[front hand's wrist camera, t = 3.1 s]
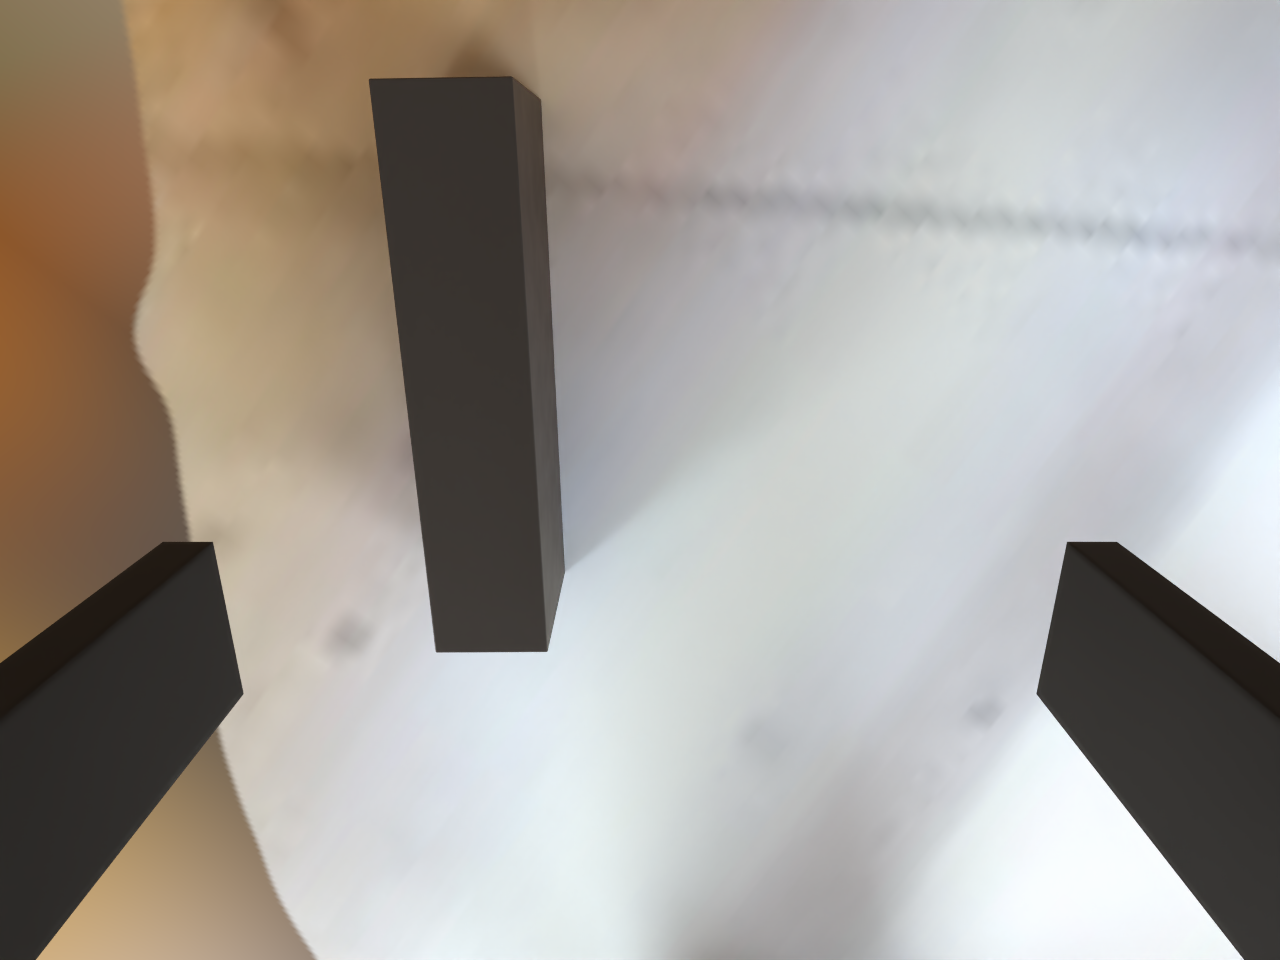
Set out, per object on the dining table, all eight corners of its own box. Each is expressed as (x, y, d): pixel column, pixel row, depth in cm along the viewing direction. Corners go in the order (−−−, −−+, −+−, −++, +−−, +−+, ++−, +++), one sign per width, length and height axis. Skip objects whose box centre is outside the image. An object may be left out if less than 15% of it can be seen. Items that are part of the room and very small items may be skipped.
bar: (426, 100, 41) (368, 78, 33) (540, 99, 41) (512, 76, 32) (471, 573, 50) (435, 652, 42) (564, 573, 50) (547, 652, 42)
